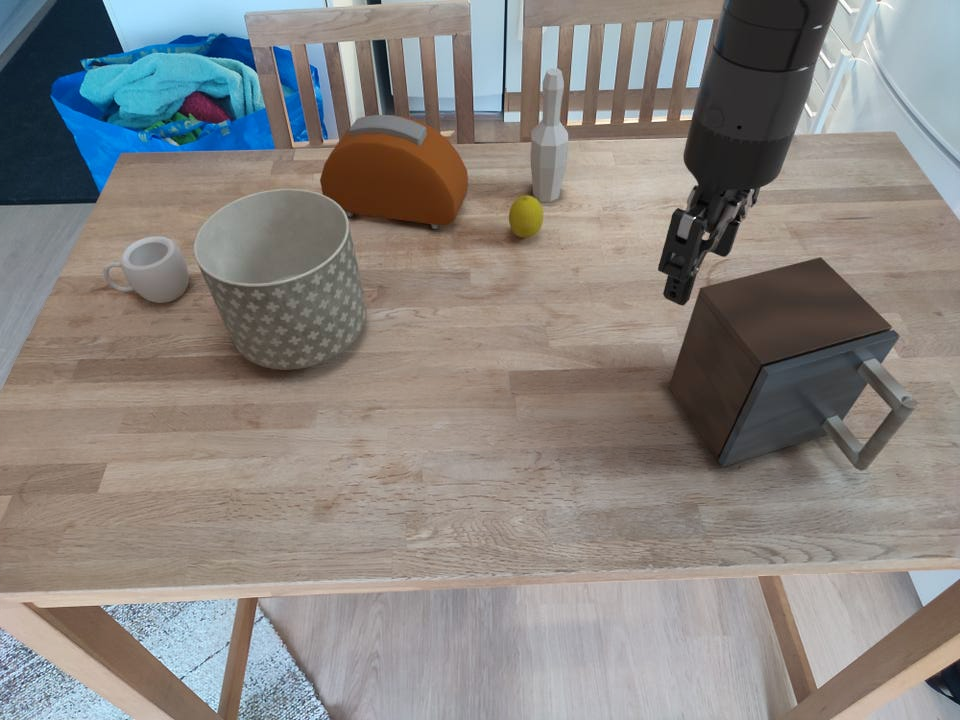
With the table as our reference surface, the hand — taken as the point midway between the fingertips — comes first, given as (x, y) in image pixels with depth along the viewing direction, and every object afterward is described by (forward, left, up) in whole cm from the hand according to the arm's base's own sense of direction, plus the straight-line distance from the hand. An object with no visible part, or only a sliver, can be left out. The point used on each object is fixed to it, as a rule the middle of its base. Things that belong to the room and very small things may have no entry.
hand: (697, 275), depth 61 cm
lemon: (+35, -24, -28) cm, 51 cm away
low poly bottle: (+39, -36, -28) cm, 60 cm away
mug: (+73, +21, -28) cm, 81 cm away
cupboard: (-8, -13, -28) cm, 31 cm away
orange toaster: (+57, -17, -28) cm, 66 cm away
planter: (+48, +13, -28) cm, 57 cm away
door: (-16, -7, -27) cm, 33 cm away
